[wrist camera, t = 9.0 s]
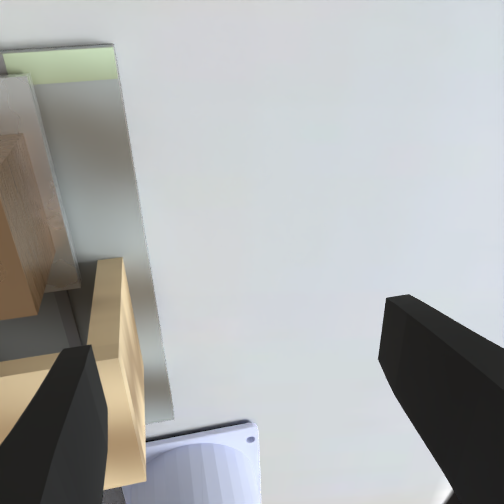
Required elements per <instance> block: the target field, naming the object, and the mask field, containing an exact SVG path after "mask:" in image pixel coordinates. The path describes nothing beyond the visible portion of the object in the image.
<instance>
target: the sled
mask: <svg viewBox="0 0 504 504" xmlns="http://www.w3.org/2000/svg"><path fill="white" fill-rule="evenodd" d="M81 283H82V278H81V274H80V270H79V266H78V262H77V258H76V254H75V250H74V246H73V242H72V238H71V234H70V230H69V226H68V222H67V218H66V214H65V210H64V206H63V202H62V198H61V194H60V190H59V186H58V182H57V178H56V174H55V170H54V166H53V162H52V158H51V154H50V150H49V146H48V142H47V138H46V134H45V130H44V126H43V122H42V118H41V114H40V110H39V106H38V102H37V98H36V94H35V90H34V86H33V82H32V78H31V74H30V73H23V74H8V75H0V320H6V319H13V318H20V317H27V316H34V315H38V312H39V308H40V305H41V301H42V298H43V294H44V293H47V292H55V291H62V290H69V289H76V288H81Z"/></svg>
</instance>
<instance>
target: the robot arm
mask: <svg viewBox="0 0 504 504" xmlns="http://www.w3.org/2000/svg"><path fill="white" fill-rule="evenodd" d="M378 360H379V362H380V365H381V367H382V369H383V372H384V374H385V376H386V378H387V380H388V383H389V385H390V387H391V389H392V391H393V393H394V395H395V397H396V398H397V400H398V401H399V403H400V405H401V406H402V408H403V410H404V411H405V413H406V414H407V416H408V418H409V419H410V421H411V422H412V424H413V426H414V427H415V429H416V430H417V432H418V433H419V435H420V436H421V438H422V440H423V441H424V443H425V444H426V446H427V448H428V449H429V451H430V452H431V454H432V455H433V457H434V459H435V460H436V462H437V463H438V465H439V466H440V468H441V470H442V471H443V473H444V475H445V476H446V478H447V480H448V481H449V483H450V485H451V487H452V488H453V490H454V492H455V494H456V496H457V498H458V500H459V502H460V504H504V348H502V347H500V346H498V345H496V344H495V343H493V342H491V341H489V340H487V339H486V338H484V337H482V336H480V335H479V334H477V333H475V332H473V331H472V330H470V329H468V328H466V327H465V326H463V325H461V324H460V323H458V322H456V321H454V320H453V319H451V318H449V317H448V316H446V315H444V314H443V313H441V312H439V311H438V310H436V309H434V308H432V307H431V306H429V305H427V304H426V303H424V302H422V301H420V300H418V299H417V298H415V297H413V296H411V295H409V294H408V295H401V296H395V297H389V298H386V303H385V311H384V318H383V326H382V334H381V341H380V349H379V356H378ZM107 453H108V407H107V403H106V399H105V395H104V391H103V388H102V384H101V380H100V376H99V372H98V368H97V365H96V361H95V357H94V353H93V349H92V345H91V344H90V345H84V346H78V347H71V348H65V349H63V350H62V351H61V352H60V353H59V355H58V357H57V359H56V360H55V362H54V364H53V365H52V367H51V369H50V370H49V372H48V374H47V376H46V377H45V379H44V380H43V382H42V384H41V385H40V387H39V389H38V390H37V392H36V393H35V395H34V397H33V398H32V400H31V401H30V403H29V404H28V406H27V407H26V409H25V410H24V412H23V413H22V415H21V416H20V418H19V419H18V421H17V422H16V424H15V425H14V427H13V428H12V430H11V431H10V432H9V434H8V435H7V436H6V438H5V439H4V440H3V442H2V443H1V445H0V504H102V497H103V489H104V480H105V471H106V463H107ZM121 487H122V491H123V495H124V498H125V502H126V504H261V482H260V455H259V431H258V427H257V425H256V424H255V423H245V424H239V425H234V426H229V427H224V428H219V429H214V430H208V431H203V432H198V433H193V434H188V435H183V436H177V437H172V438H167V439H162V440H157V441H152V442H146V481H145V482H140V483H136V484H131V485H126V486H121Z"/></svg>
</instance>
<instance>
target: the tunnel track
mask: <svg viewBox="0 0 504 504" xmlns="http://www.w3.org/2000/svg"><path fill="white" fill-rule="evenodd" d="M23 73H30V74H31V78H32V82H33V86H34V90H35V94H36V98H37V102H38V106H39V110H40V114H41V118H42V122H43V126H44V130H45V134H46V138H47V142H48V146H49V150H50V154H51V158H52V162H53V166H54V170H55V174H56V178H57V182H58V186H59V190H60V194H61V198H62V202H63V206H64V210H65V214H66V218H67V222H68V226H69V230H70V234H71V238H72V242H73V246H74V250H75V254H76V258H77V262H78V266H79V270H80V274H81V278H82V283H81V288H76V289H69V290H62V291H55V292H47V293H44V294H43V298H42V301H41V305H40V308H39V312H38V315H34V316H27V317H20V318H13V319H6V320H0V445H1V443H2V442H3V440H4V439H5V438H6V436H7V435H8V434H9V432H10V431H11V430H12V428H13V427H14V425H15V424H16V422H17V421H18V419H19V418H20V416H21V415H22V413H23V412H24V410H25V409H26V407H27V406H28V404H29V403H30V401H31V400H32V398H33V397H34V395H35V393H36V392H37V390H38V389H39V387H40V385H41V384H42V382H43V380H44V379H45V377H46V376H47V374H48V372H49V370H50V369H51V367H52V365H53V364H54V362H55V360H56V359H57V357H58V355H59V353H60V352H61V351H62V350H63V349H65V348H71V347H78V346H84V345H90V344H91V345H92V349H93V353H94V357H95V361H96V365H97V368H98V372H99V376H100V380H101V384H102V388H103V391H104V395H105V399H106V403H107V407H108V453H107V463H106V471H105V480H104V489H103V490H107V489H111V488H116V487H121V486H126V485H131V484H136V483H140V482H145V481H146V443H145V425H147V424H152V423H157V422H163V421H168V420H173V419H174V411H173V403H172V397H171V391H170V385H169V379H168V373H167V367H166V360H165V354H164V348H163V342H162V336H161V330H160V324H159V317H158V311H157V305H156V299H155V293H154V287H153V280H152V274H151V268H150V262H149V256H148V250H147V244H146V237H145V231H144V225H143V219H142V213H141V207H140V201H139V194H138V188H137V182H136V176H135V170H134V164H133V158H132V151H131V145H130V139H129V133H128V127H127V121H126V115H125V108H124V102H123V96H122V90H121V84H120V78H119V71H118V65H117V59H116V53H115V47H114V44H106V45H89V46H72V47H55V48H38V49H22V50H5V51H0V75H8V74H23Z"/></svg>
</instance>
